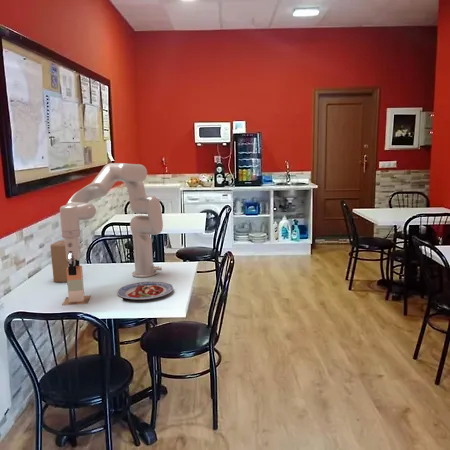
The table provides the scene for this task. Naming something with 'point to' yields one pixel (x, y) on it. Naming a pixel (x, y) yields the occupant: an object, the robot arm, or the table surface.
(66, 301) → the walnut board
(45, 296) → the table surface
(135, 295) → the ceramic plate
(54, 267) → the wooden block
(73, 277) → the terracotta brick
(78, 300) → the cream base brick
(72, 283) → the sage green brick
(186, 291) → the table surface
